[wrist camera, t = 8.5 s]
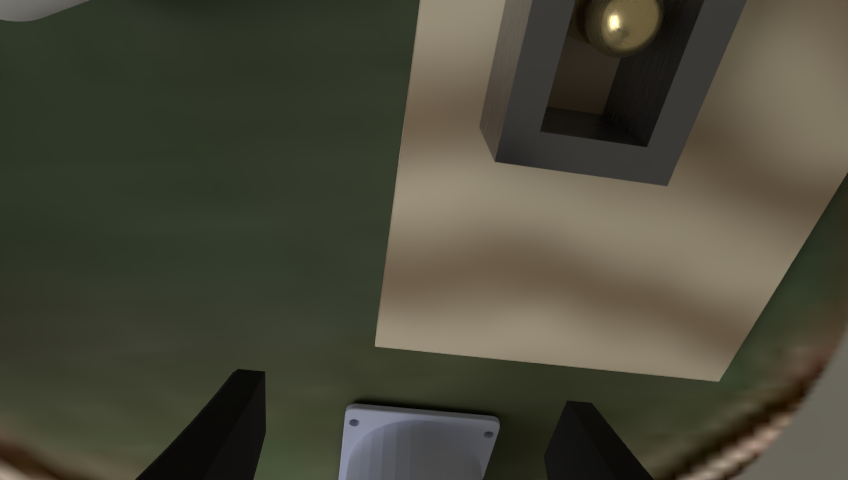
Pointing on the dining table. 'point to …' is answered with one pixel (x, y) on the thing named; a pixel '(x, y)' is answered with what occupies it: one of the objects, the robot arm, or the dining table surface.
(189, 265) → the dining table surface
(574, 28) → the brass knob
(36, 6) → the mug
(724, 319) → the birch board
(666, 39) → the dark grey open box
